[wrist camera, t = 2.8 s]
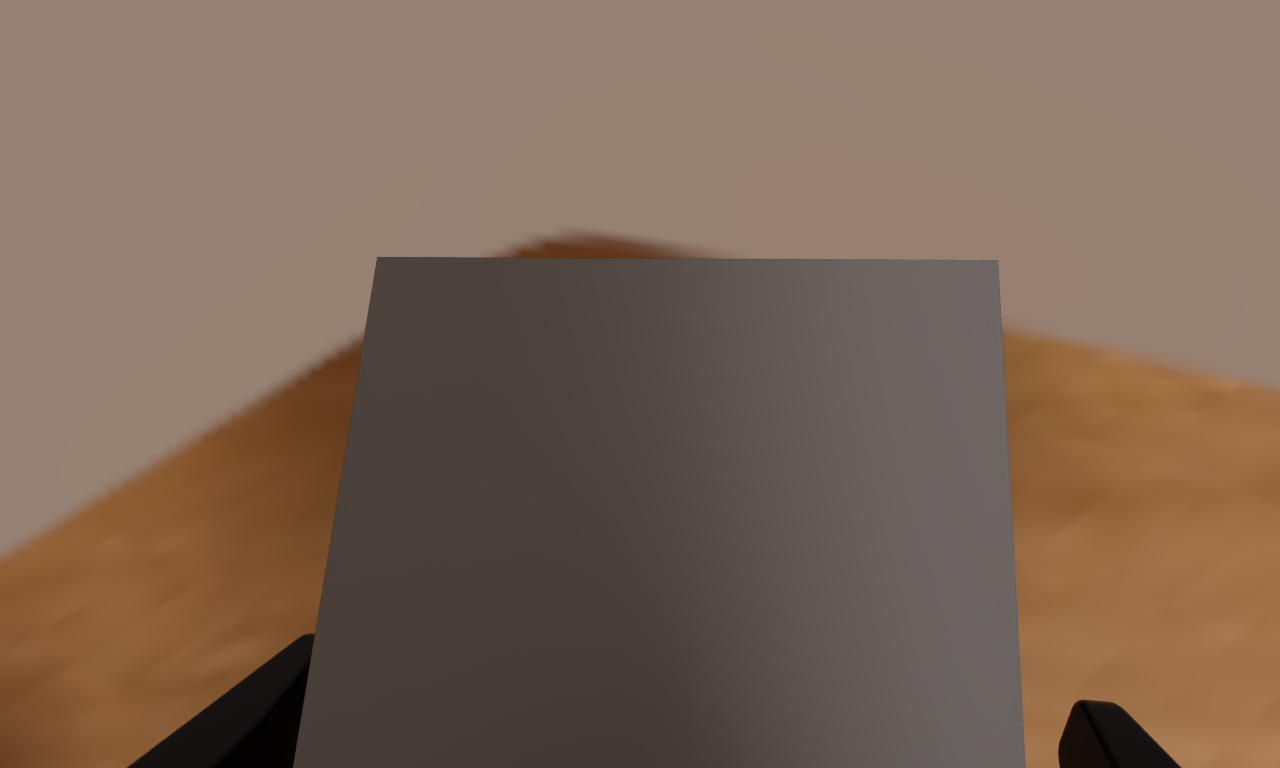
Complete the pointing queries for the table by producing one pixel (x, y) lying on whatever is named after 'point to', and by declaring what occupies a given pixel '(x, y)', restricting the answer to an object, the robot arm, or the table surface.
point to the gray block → (672, 520)
